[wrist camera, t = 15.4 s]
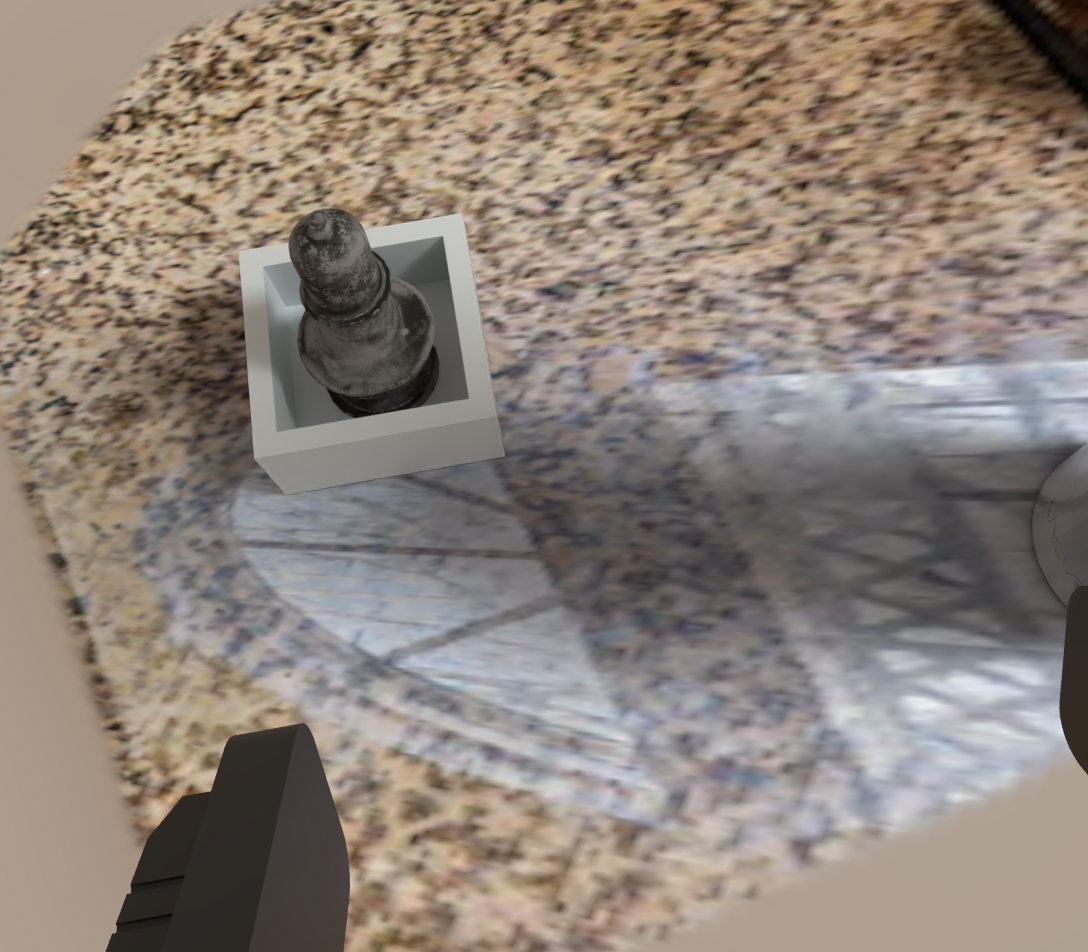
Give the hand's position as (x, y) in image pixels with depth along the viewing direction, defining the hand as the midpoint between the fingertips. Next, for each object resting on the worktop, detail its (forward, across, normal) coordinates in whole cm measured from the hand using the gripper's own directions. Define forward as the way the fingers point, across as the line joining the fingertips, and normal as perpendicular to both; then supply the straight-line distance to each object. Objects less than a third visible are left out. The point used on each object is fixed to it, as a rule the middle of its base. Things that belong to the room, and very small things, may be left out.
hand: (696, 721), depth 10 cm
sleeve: (+36, +7, +7) cm, 38 cm away
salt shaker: (+36, +7, +7) cm, 37 cm away
